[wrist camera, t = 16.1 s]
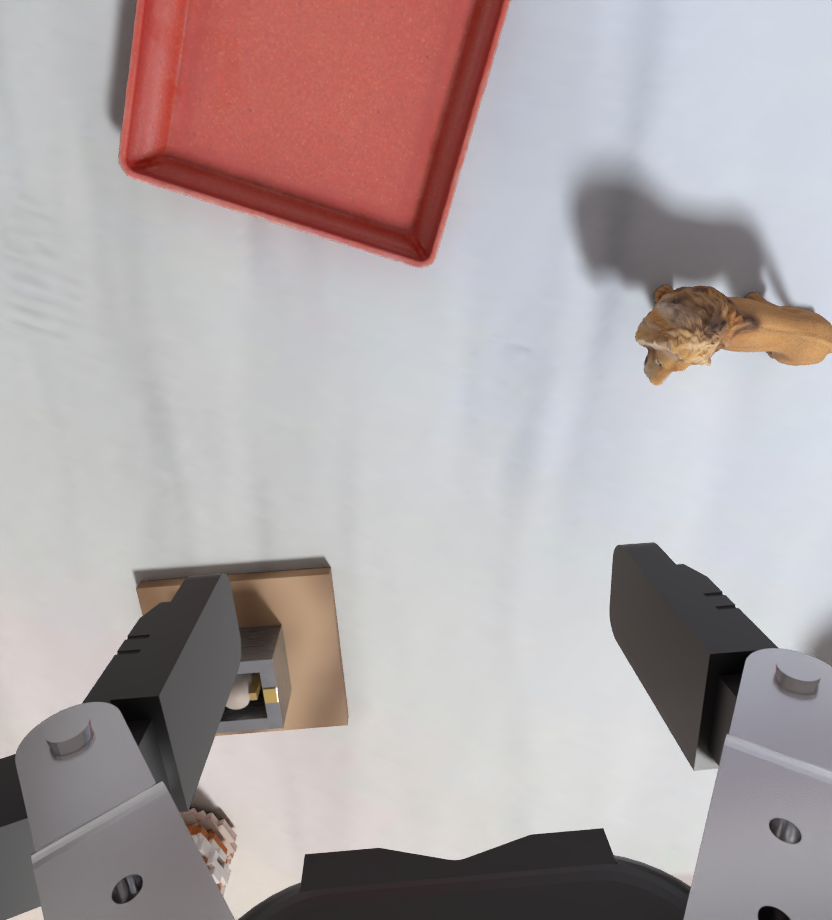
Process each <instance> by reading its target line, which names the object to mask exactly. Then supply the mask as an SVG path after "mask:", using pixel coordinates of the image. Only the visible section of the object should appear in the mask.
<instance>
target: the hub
mask: <svg viewBox="0 0 832 920" xmlns="http://www.w3.org/2000/svg"><path fill="white" fill-rule="evenodd" d="M239 632H240V638H241V660H240V666H239V670H238V673H237V674H246V673H259V672H260V678H261V684H262V685H261V689H260V692H259V696H258V699H257V700H250V701H249V703H248V705H247V706H246V707H244V708H242V709H230V708H228V707H226V706H225V709H224V712H223V715H222V718H221V721H220V723H219V726H218V729H217V732H216V733H227V732H240V731H252V730H265V729H277V728H284V723H285V718H286V714H287V709H288V705H289V700H290V695H291V691H292V687H291V680H290V674H289V667H288V661H287V655H286V648H285V642H284V635H283V629H282V625H269V626H256V627H243V628H239Z"/></svg>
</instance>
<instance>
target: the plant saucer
mask: <svg viewBox="0 0 832 920" xmlns="http://www.w3.org/2000/svg"><path fill="white" fill-rule="evenodd" d="M510 1H511V0H137V3H136V14H135V19H134V28H133V39H132V47H131V54H130V63H129V73H128V80H127V87H126V97H125V106H124V113H123V122H122V130H121V136H120V147H119V155H118V156H119V165H120V167H121V169H122V170H123V171H124V173H125V174H126V175H127V176H128V177H130V178H132V179H135V180H138V181H141V182H144V183H148V184H151V185H154V186H157V187H160V188H164V189H167V190H170V191H173V192H177V193H180V194H183V195H186V196H190V197H193V198H196V199H199V200H202V201H206V202H209V203H212V204H215V205H218V206H222V207H225V208H229V209H232V210H235V211H238V212H241V213H244V214H248V215H251V216H254V217H257V218H261V219H264V220H267V221H270V222H273V223H276V224H280V225H283V226H286V227H289V228H292V229H296V230H299V231H302V232H305V233H308V234H312V235H315V236H318V237H321V238H324V239H327V240H331V241H334V242H337V243H340V244H344V245H347V246H349V247H353V248H356V249H359V250H363V251H366V252H368V253H372V254H375V255H378V256H382V257H384V258H387V259H390V260H393V261H397V262H400V263H404V264H406V265H409V266H413V267H417V268H424V267H429V266H430V265H432V264H433V263H434V261H435V259H436V256H437V254H438V250H439V247H440V243H441V239H442V235H443V232H444V229H445V226H446V222H447V219H448V216H449V212H450V208H451V204H452V201H453V198H454V194H455V191H456V187H457V184H458V180H459V176H460V173H461V170H462V166H463V164H464V161H465V157H466V153H467V150H468V146H469V141H470V138H471V135H472V132H473V128H474V125H475V122H476V119H477V115H478V111H479V107H480V104H481V100H482V97H483V94H484V91H485V88H486V85H487V81H488V78H489V74H490V70H491V67H492V63H493V60H494V56H495V53H496V50H497V46H498V43H499V39H500V35H501V32H502V28H503V25H504V22H505V19H506V15H507V11H508V8H509V4H510Z"/></svg>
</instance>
